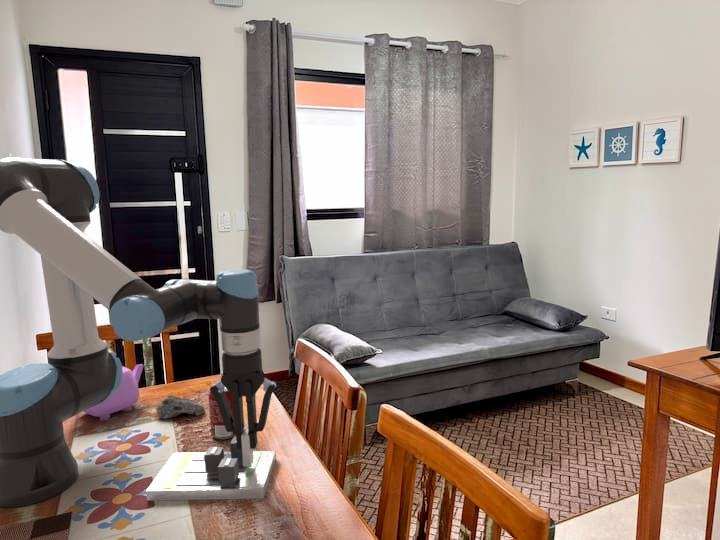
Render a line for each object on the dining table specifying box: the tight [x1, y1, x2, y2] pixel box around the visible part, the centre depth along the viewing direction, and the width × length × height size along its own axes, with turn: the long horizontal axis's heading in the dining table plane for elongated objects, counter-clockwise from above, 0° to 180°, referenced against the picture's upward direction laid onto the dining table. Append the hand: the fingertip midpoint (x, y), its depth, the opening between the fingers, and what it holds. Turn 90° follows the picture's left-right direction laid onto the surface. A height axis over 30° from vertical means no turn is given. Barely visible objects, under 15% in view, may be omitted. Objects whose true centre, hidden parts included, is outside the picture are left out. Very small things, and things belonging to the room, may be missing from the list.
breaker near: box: [218, 458, 239, 484], centre depth 97 cm, size 3×3×4 cm
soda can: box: [208, 386, 236, 440], centre depth 120 cm, size 7×7×12 cm
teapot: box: [83, 363, 144, 421], centre depth 135 cm, size 20×12×13 cm, turn 144°
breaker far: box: [229, 436, 243, 459], centre depth 106 cm, size 3×3×4 cm
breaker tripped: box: [204, 446, 225, 472], centre depth 102 cm, size 3×3×4 cm
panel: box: [145, 450, 277, 502], centre depth 102 cm, size 22×14×2 cm, turn 90°
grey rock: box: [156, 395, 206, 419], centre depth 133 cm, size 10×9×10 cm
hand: (248, 462), depth 102 cm, fingers closed
